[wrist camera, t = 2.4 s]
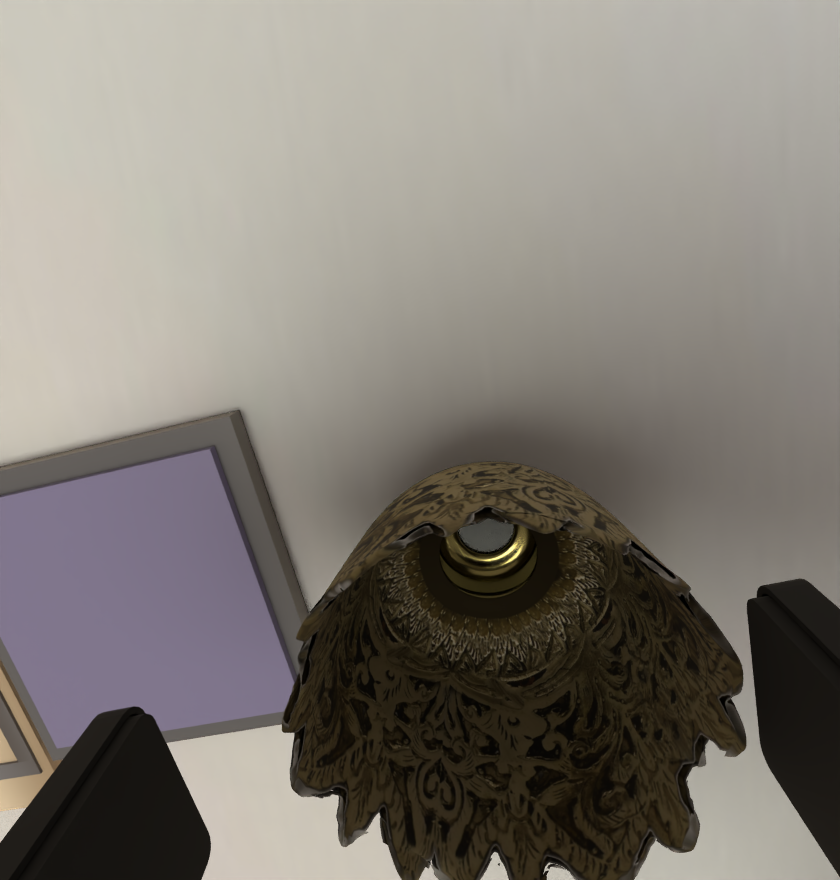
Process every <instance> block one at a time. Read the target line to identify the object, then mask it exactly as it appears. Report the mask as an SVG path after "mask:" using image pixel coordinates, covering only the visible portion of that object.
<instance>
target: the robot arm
mask: <svg viewBox="0 0 840 880" xmlns="http://www.w3.org/2000/svg"><path fill="white" fill-rule="evenodd" d="M747 614H748V624H749V635H750V645H751V655H752V665H753V675H754V686H755V696H756V706H757V716H758V727H759V737H760V744H761V749H762V752H763V755H764V757H765V760H766V762H767V764H768V766H769V768H770V770H771V772H772V773H773V775H774V776H775V778H776V780H777V781H778V783H779V784H780V786H781V787H782V789H783V790H784V792H785V793H786V795H787V796H788V798H789V800H790V801H791V803H792V804H793V806H794V807H795V809H796V810H797V812H798V813H799V815H800V817H801V818H802V820H803V821H804V823H805V824H806V826H807V827H808V829H809V830H810V832H811V833H812V835H813V837H814V838H815V840H816V841H817V843H818V844H819V846H820V847H821V849H822V850H823V852H824V854H825V855H826V857H827V858H828V860H829V861H830V863H831V864H832V866H833V867H834V869H835V870H836V872H837V874H838V875H839V877H840V609H839V608H838V607H837V606H836V605H835V604H833V603H832V602H831V601H830V600H829V599H828V598H827V597H825V596H824V595H823V594H822V593H821V592H820V591H818V590H817V589H816V588H815V587H814V586H813V585H812V584H810V583H809V582H808V581H806V580H805V579H795V580H790V581H785V582H779V583H774V584H769V585H764V586H761V587H759V588H758V591H757V598H752V599H749V600H748V602H747ZM210 850H211V841H210V836H209V832H208V830H207V828H206V826H205V824H204V822H203V820H202V818H201V815H200V813H199V811H198V809H197V807H196V805H195V803H194V801H193V799H192V796H191V794H190V792H189V790H188V788H187V786H186V784H185V782H184V780H183V777H182V775H181V773H180V771H179V769H178V767H177V765H176V763H175V761H174V758H173V756H172V754H171V752H170V750H169V748H168V746H167V744H166V742H165V739H164V737H163V735H162V733H161V731H160V729H159V727H158V725H157V723H156V720H155V719H154V717H153V716H152V715H150V714H146V713H145V712H144V710H143V709H141V708H140V707H136V706H133V707H128V708H122V709H117V710H112V711H107V712H103V713H100V714H98V715H97V716H96V717H95V718H94V719H93V720H92V721H91V723H90V724H89V725H88V727H87V728H86V729H85V731H84V732H83V733H82V735H81V736H80V737H79V739H78V740H77V741H76V743H75V744H74V745H73V747H72V748H71V749H70V751H69V752H68V753H67V755H66V756H65V757H64V759H63V760H62V761H61V763H60V764H59V765H58V767H57V768H56V769H55V771H54V772H53V773H52V775H51V776H50V777H49V779H48V780H47V781H46V783H45V784H44V785H43V787H42V788H41V789H40V791H39V792H38V793H37V795H36V796H35V797H34V799H33V800H32V801H31V803H30V804H29V805H28V807H27V808H26V809H25V811H24V812H23V813H22V815H21V816H20V817H19V819H18V820H17V821H16V823H15V824H14V825H13V827H12V828H11V829H10V831H9V832H8V833H7V835H6V836H5V837H4V839H3V840H2V841H1V843H0V880H201V879H202V877H203V874H204V871H205V869H206V866H207V863H208V860H209V857H210Z"/></svg>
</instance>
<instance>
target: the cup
mask: <svg viewBox="0 0 840 880" xmlns="http://www.w3.org/2000/svg"><path fill="white" fill-rule="evenodd" d="M486 518H490V519H494V520H495V521H498V522H502V523H509V524H514V533H513V537H512V539H511V541H510V542H509V544H508V545H507V546H506V547H505V548H504V549H502V550H500V551H498V552H496V553H492V554H479V553H476V552H473V551H471V550H469V549H468V548H467V547H465V546H464V544H463V543H462V542H461V540H460V538H459V536H458V531H457V530H459V529H460V528H461V527H464V526H468V525H472V524H477V523H480V522H482V521H484V520H485V519H486ZM690 590H691V588H690V587H689V586H688V584H687V583H685V582H684V581H683V580H682V579H681V578H679V577H678V576H677V575H675V574H674V573H673V572H671V571H670V570H669V569H667V568H666V567H665V566H664V565H663V564H662V563H661V562H660V561H659V560H658V559H657V558H656V557H655V556H654V555H653V554H652V553H651V552H650V551H649V550H648V549H647V548H646V547H645V546H644V545H643V544H642V543H641V542H640V541H639V540H638V539H637V538H636V537H635V536H634V535H633V534H632V533H631V532H630V531H629V530H628V529H627V528H626V527H625V526H624V525H623V524H622V523H621V522H620V521H618V520H617V519H616V518H615V517H614V516H613V515H612V514H611V513H610V512H608V511H607V510H606V509H605V508H604V507H602V506H601V505H600V504H599V503H598V502H597V501H595V500H594V499H593V498H592V497H590V496H589V495H587V494H586V493H584V492H583V491H581V490H580V489H578V488H577V487H575V486H574V485H572V484H571V483H569V482H567V481H565V480H563V479H561V478H559V477H557V476H555V475H552V474H550V473H547V472H544V471H542V470H539V469H536V468H533V467H529V466H525V465H521V464H515V463H508V462H478V463H470V464H465V465H460V466H456V467H453V468H449V469H446V470H443V471H441V472H438V473H436V474H434V475H431V476H429V477H428V478H426V479H424V480H422V481H420V482H419V483H417V484H415V485H414V486H412V487H411V488H410V489H408V490H407V491H405V492H404V493H402V494H401V495H400V496H399V497H398V498H397V499H396V500H394V501H393V502H392V503H391V504H390V505H389V506H388V507H387V508H386V509H385V510H384V511H383V512H382V514H381V515H380V516H379V517H378V518H377V519H376V520H375V521H374V523H373V524H372V525H371V526H370V528H369V529H368V530H367V532H366V533H365V535H364V536H363V537H362V539H361V540H360V542H359V543H358V545H357V546H356V548H355V549H354V550H353V552H352V553H351V555H350V556H349V558H348V559H347V561H346V562H345V564H344V565H343V567H342V568H341V570H340V571H339V573H338V574H337V576H336V577H335V579H334V580H333V582H332V583H331V585H330V586H329V588H328V589H327V591H326V592H325V594H324V595H323V597H322V598H321V599H320V600H319V602H318V603H317V604H316V605H315V606H314V608H313V609H312V610H311V611H310V613H309V614H308V615H307V617H306V618H305V619H304V621H303V623H302V625H301V627H300V629H299V631H298V633H297V636H296V639H297V640H299V641H303V645H302V647H301V650H300V652H299V654H298V658H297V659H298V663H299V673H298V676H297V679H296V681H295V683H294V685H293V688H292V692H291V695H290V697H289V700H288V703H287V706H286V708H285V710H284V714H283V717H282V731H283V732H284V733H295V735H294V742H293V750H292V759H291V767H290V781H291V787H292V789H293V791H295V792H296V793H297V794H298V795H300V796H301V797H311V796H314V797H319V798H324V797H328V796H330V795H332V794H334V795H339V806H338V810H337V815H336V817H337V821H338V836H339V841H340V843H341V846H343V847H347V846H348V845H350V844H352V843H353V842H354V841H355V840H356V839H357V838H358V837H360V836H362V835H363V834H366V833H368V832H366V830H367V829H368V827H369V825H370V824H371V822H372V820H373V819H374V817H375V816H376V815H377V814H378V813H380V816H381V817H380V828H381V835H382V839H383V843H385V844H387V845H388V847H389V850H390V853H391V856H392V859H393V862H394V865H395V867H396V870H397V872H398V874H399V876H400V877H401V879H402V880H419V878H420V876H421V874H422V872H423V870H424V868H425V867H427V868H428V869H429V866H430V865H431V863H430V861H431V860H432V864H433V865H431V866H432V868H433V870H434V874H435V876H436V877H437V878H438V879H439V880H480V879H481V878H482V876H483V875H484V873H485V872H486V870H487V868H488V866H489V863H490V861H491V860H492V858H491V855H492V854H493V853H494V852H497V853H498V854H499V856H500V860H501V861H502V863H503V864H504V866H505V869H506V871H507V875H508V878H509V880H547V876H546V875H547V873H548V872H549V871H545V873H544V869H545V866H546V865H547V864H548V863H554V864H550V865H549V866H548V867H547V868H548V869H550V867H556V868H562V869H564V868H565V870H566V869H567V870H568V871H570V874H571V875H572V876H573V878H574V879H575V880H634V879H635V877H636V876H637V874H638V872H639V870H640V868H641V866H642V864H643V863H644V861H645V859H646V857H647V854H648V852H649V850H650V847H651V846H652V844H653V843H654V842H655V840H656V838H657V841H658V842H659V843H660V844H661V845H663V846H664V847H666V848H667V847H668V848H669V850H671V851H673V852H677V853H684V852H689V851H692V850H693V849H694V847H695V845H696V843H697V838H698V835H699V830H700V823H699V820H698V817H697V814H696V812H695V811H694V806H693V800H692V799H691V798H690V793H689V788H688V786H687V783H688V781H687V783H686V779H687V777H688V775H689V773H690V771H691V769H692V768H693V767H695V766H698V767H702V766H705V765H706V758H705V745H706V744H707V742H708V740H711V741H713V742H714V743H715V744H716V745H717V746H718V747H719V749H720V750H722V751H727V752H726V754H725V756H728V757H736V756H738V755H739V754H740V753H741V752H743V751H744V750H745V748H746V734H745V730H744V726H743V723H742V721H741V719H740V716H739V714H738V712H737V710H736V707H735V705H734V703H733V701H732V700H731V698H732V697H733V696H735V695H737V694H739V693H740V692H741V690H742V686H743V670H742V665H741V662H740V660H739V658H738V656H737V655H736V653H735V651H734V650H733V648H732V646H731V645H730V643H729V642H728V640H727V639H726V637H725V636H724V635H723V633H722V632H721V630H720V629H719V628H718V626H717V625H716V623H715V622H714V621H713V619H712V618H711V616H710V615H709V614H708V613H707V612H706V611H705V610H704V609H703V608H702V607H701V605H700V604H699V603H698V602H697V601H696V600H695V598H694V597H693V596H692V595H691V594H690V592H689V591H690ZM330 790H333V791H330ZM315 795H316V796H315ZM323 796H324V797H323ZM490 858H491V859H490ZM556 864H558V865H556ZM498 865H499V866H500V863H499V864H498ZM559 865H560V866H559ZM561 866H563V867H564V868H563V867H561ZM543 873H544V875H543Z"/></svg>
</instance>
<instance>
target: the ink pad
mask: <svg viewBox="0 0 840 880" xmlns="http://www.w3.org/2000/svg"><path fill="white" fill-rule="evenodd" d="M307 615H308V611H307V608H306V605H305V602H304V599H303V597H302V594H301V591H300V588H299V585H298V582H297V579H296V576H295V573H294V570H293V567H292V564H291V561H290V558H289V556H288V553H287V550H286V547H285V544H284V541H283V538H282V535H281V532H280V529H279V526H278V523H277V520H276V517H275V514H274V512H273V509H272V506H271V503H270V500H269V497H268V494H267V491H266V488H265V485H264V482H263V479H262V476H261V473H260V470H259V468H258V465H257V462H256V459H255V456H254V453H253V450H252V447H251V444H250V441H249V438H248V435H247V432H246V429H245V426H244V424H243V421H242V418H241V415H240V412H239V410H238V411H234V412H230V413H226V414H221V415H217V416H213V417H209V418H205V419H200V420H196V421H192V422H188V423H184V424H180V425H175V426H171V427H167V428H163V429H159V430H154V431H150V432H146V433H142V434H138V435H134V436H129V437H125V438H121V439H117V440H113V441H108V442H104V443H100V444H96V445H92V446H88V447H83V448H79V449H75V450H71V451H67V452H62V453H58V454H54V455H50V456H46V457H42V458H37V459H33V460H29V461H25V462H21V463H16V464H12V465H8V466H4V467H0V659H1V661H2V663H3V665H4V667H5V669H6V671H7V673H8V674H9V676H10V678H11V680H12V682H13V684H14V686H15V688H16V690H17V692H18V694H19V696H20V698H21V700H22V702H23V704H24V706H25V708H26V709H27V711H28V713H29V715H30V717H31V719H32V721H33V723H34V725H35V727H36V729H37V731H38V733H39V735H40V737H41V739H42V741H43V743H44V744H45V746H46V748H47V750H48V752H49V754H50V756H51V758H52V760H53V761H56V760H62V759H64V757H65V756H66V755H67V753H68V752H69V751H70V749H71V748H72V747H73V745H74V744H75V743H76V741H77V740H78V739H79V737H80V736H81V735H82V733H83V732H84V731H85V729H86V728H87V727H88V725H89V724H90V723H91V721H92V720H93V719H94V718H95V717H96V716H97V715H98V714H100V713H103V712H107V711H112V710H117V709H122V708H128V707H133V706H136V707H140V708H141V709H143V710H144V712H145V713H146V714H150V715H152V716H153V717H154V719H155V720H156V723H157V725H158V727H159V729H160V731H161V733H162V735H163V737H164V739H165V742H166V743H168V742H174V741H180V740H187V739H193V738H199V737H205V736H212V735H218V734H224V733H230V732H236V731H243V730H249V729H255V728H261V727H267V726H274V725H280V724H282V717H283V714H284V710H285V708H286V706H287V703H288V700H289V697H290V695H291V692H292V688H293V685H294V683H295V681H296V679H297V676H298V673H299V663H298V659H297V658H298V654H299V652H300V650H301V647H302V645H303V641H299V640H297V639H296V636H297V633H298V631H299V629H300V627H301V625H302V623H303V621H304V619H305V618H306V617H307Z"/></svg>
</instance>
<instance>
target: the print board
mask: <svg viewBox="0 0 840 880" xmlns="http://www.w3.org/2000/svg"><path fill="white" fill-rule="evenodd" d="M60 763H61V760H56V761H53V760H52V758H51V756H50V754H49V752H48V750H47V748H46V746H45V744H44V743H43V741H42V739H41V737H40V735H39V733H38V731H37V729H36V727H35V725H34V723H33V721H32V719H31V717H30V715H29V713H28V711H27V709H26V708H25V706H24V704H23V702H22V700H21V698H20V696H19V694H18V692H17V690H16V688H15V686H14V684H13V682H12V680H11V678H10V676H9V674H8V673H7V671H6V669H5V667H4V665H3V663H2V661H1V659H0V811H5V810H12V809H18V808H25V807H28V805H29V804H30V803H31V801H32V800H33V799H34V797H35V796H36V795H37V793H38V792H39V791H40V789H41V788H42V787H43V785H44V784H45V783H46V781H47V780H48V779H49V777H50V776H51V775H52V773H53V772H54V771H55V769H56V768H57V767H58V765H59V764H60Z"/></svg>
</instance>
